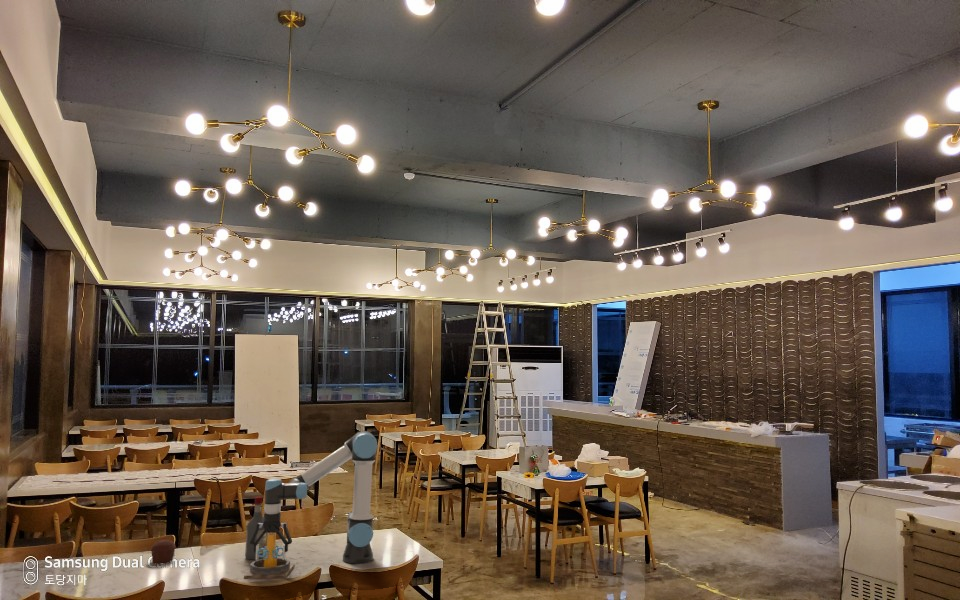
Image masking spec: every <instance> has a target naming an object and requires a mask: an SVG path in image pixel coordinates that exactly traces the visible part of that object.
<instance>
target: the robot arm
mask: <svg viewBox="0 0 960 600" xmlns="http://www.w3.org/2000/svg"><path fill="white" fill-rule="evenodd" d="M377 450H378V440H377V438H376V437H375V436H374V435H373V433H371V432H370V431H367V430H361V431H358V432H356V433H355V434H354V435H353V436H351V437H350V438H349V439H347V440H346V441H345V442H344V444H343V445H342V446H341V447H339V448H337V450H335V451H333V452H332V453H330V454H329V455H326V457H324V458H323V459H321V460H320V461H317V463H316V464H314V465H312V466H310V467H309V468H308V469H306V470H305V471H304V472H302V473H300V474H298V475H297V476H295V477H293V478H291V479H290V480H289V482H288V483H287V482H285V483H283V481H282V479H281V478H269V479H267V480H266V481H265V488H264V506H263V507H264V514H263V518H264V523H258V524H257V528H256V531H255V533H254V535H253V537H252V539H251V542H250V544H253V545H254V552H256V560H258V559H259V556H258V554H257V552H258V550H259V544H258V542H259V541H260V540H261V538H262V537H263V536H264V535H265V533H266V532H268V533H276V535H278V538H279V539H280V540H281V541H282V543H283V545H282V548H283V551H282V552H283V555H282V558H283V560H284V559H286V555H287V554H286V553H288V551H289V545H290V544H292V543H293V540H292V537H291V534H290V531H289V528H288V522H284V523H282V522H281V509H282V508H281V507H282V500H302V499H303V500H304V499H306V498H307V496H308V495H307V494H308V488H309V487H310V486H312V485H313V484H315V483H317V481H319V480H321V479H322V478H324V477H325V476H327V475H329V474H330V473H331V472H333V471H335V470H336V469H337V468H339V467H340V466H342V465H343V464H345V463H346V462H349V461H350V460H351V461H352V462H353V463H354V471H353V472H354V476H353V494H352V495H353V497H352V512H349V513H348V515H347V518H346V521H347V522H346V523H347V524H346V526H347V527H346V545H345V548H344V551H343V553H342V561H343V562H344V563H348V564H365V563H370V562H372V561H373V560H374V552H373V550H372V545H371V541H372V540H373V537H374V530H373V524H374V523H373V521H374V516H373V514H371V502H372V501H371V500H372V483H373V481H372V479H373V464H374V462H376V460H377ZM262 526H263V527H264V529H265V530H264V531H263V533H262V534H261V535H260V537H259V538H258V539H257V540H256V542H255V538H256V536H257V534H258V532H259V530H260V528H261V527H262ZM280 528H282V529H283V531H284V534H285V536H284V534H283V532H282V530H281V529H280ZM257 544H258V545H257ZM256 560H255V561H256Z"/></svg>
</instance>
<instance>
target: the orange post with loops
mask: <svg viewBox="0 0 960 600" xmlns="http://www.w3.org/2000/svg"><path fill="white" fill-rule="evenodd" d="M276 539H277V533H276V532H275V533H272V532H271V533H268V534H267V546H265V547H264V548H261V549H259V550H258V552H257V554H258V556H259V557H263V558H262V559H264V567H276V566H277V558H279V557H283V546H279V545H276V543H277V540H276ZM265 548H267V550H266V549H265ZM260 550H263V551H264V553H263V556H261V555H259V552H260ZM280 550H281V551H282V552H281V553H280V554H279V551H280Z"/></svg>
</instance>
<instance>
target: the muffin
mask: <svg viewBox="0 0 960 600" xmlns="http://www.w3.org/2000/svg"><path fill="white" fill-rule="evenodd" d="M176 547H177V546H176V544H175V542H174V541H172V540H170V539H161V540H160V539H159V540H158V541H156V542H155V543H153V544H152V546H151V547H150V551H151V558H152V559H151V560H152V561H151V562H152V563H153V564H155V563H156V564H157V565H161V564H160V563H165V564H168V563H167V562H169V563H171V562H172V561H173V558H174V554H175V549H176ZM170 561H171V562H170Z"/></svg>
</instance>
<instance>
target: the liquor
mask: <svg viewBox="0 0 960 600" xmlns="http://www.w3.org/2000/svg"><path fill="white" fill-rule="evenodd" d="M262 504H263V496H262V495H261V496H259V495H257V496H255V497H254V513H253V516H252V518H251V519H250V520H249V521H248V522H247V523H246V530H245V531H246V532H245V533H246V535H245V554H244V555H245V556H244V557H245V558H246V560H250V561H251V560H252V561H256V552H254V545H253V544H250V542H251V539H252V537H253V535H254V533H255V531H256V528H257V524H258V523H264V516H263V514H262V513H263V512H262V509H263V507H262V506H263V505H262ZM264 530H265V529H264V527H263V526H262V527H261V528H260V530H259V532H258V534H257V536H256V538H255V542H256V540H257V539H258V538H259V537H260V535H261V534H262V533H263V531H264ZM267 534H268V532H266V533H265V535H264V536H263V537H262V538H261V540H260V541H259V542H258V544H259V549H261V548H264V547H265V546H267ZM258 544H257V545H258ZM265 549H266V550H267V548H265ZM263 553H264V551H263V550H260V552H259V555H261V556H263ZM259 559H264V558H263V557H259ZM259 559H258V560H259Z"/></svg>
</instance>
